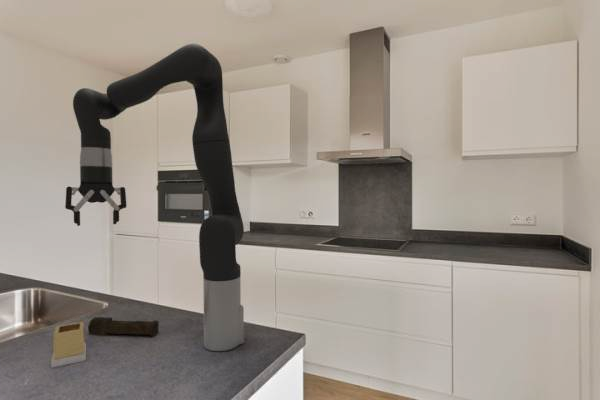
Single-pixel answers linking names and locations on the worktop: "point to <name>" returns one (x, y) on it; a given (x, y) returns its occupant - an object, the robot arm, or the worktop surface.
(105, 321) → the hand tool
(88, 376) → the worktop surface
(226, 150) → the robot arm
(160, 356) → the worktop surface
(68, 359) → the clear stepped bracket
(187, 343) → the worktop surface
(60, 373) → the worktop surface
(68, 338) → the tan open-top container
